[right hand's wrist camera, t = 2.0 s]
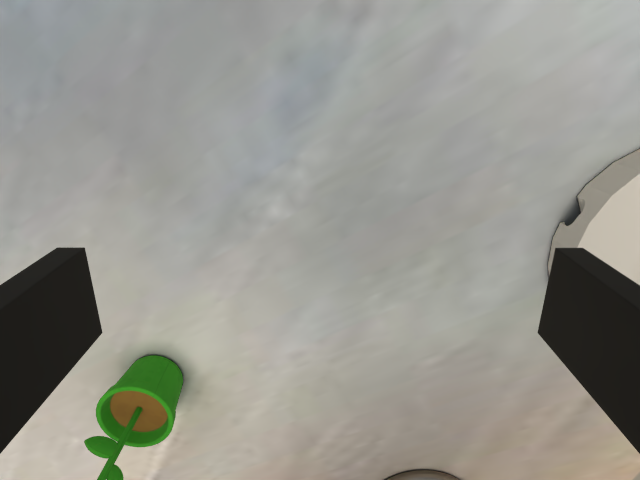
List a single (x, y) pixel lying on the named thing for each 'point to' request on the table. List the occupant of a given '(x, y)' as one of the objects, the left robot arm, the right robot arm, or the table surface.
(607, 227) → the ashtray
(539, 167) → the table surface
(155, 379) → the potted flower
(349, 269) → the table surface
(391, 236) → the table surface
